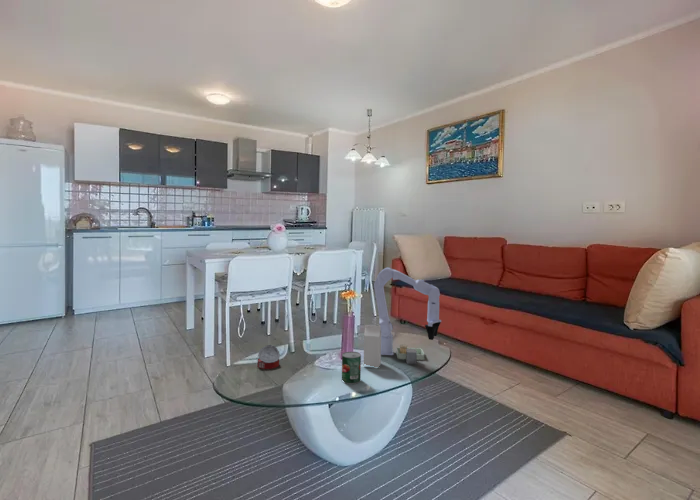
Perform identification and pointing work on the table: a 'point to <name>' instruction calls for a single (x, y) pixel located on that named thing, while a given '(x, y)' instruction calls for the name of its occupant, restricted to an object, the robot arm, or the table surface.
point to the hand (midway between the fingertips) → (432, 337)
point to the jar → (403, 349)
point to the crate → (419, 356)
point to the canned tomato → (351, 367)
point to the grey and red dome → (268, 357)
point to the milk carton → (372, 345)
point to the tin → (411, 356)
